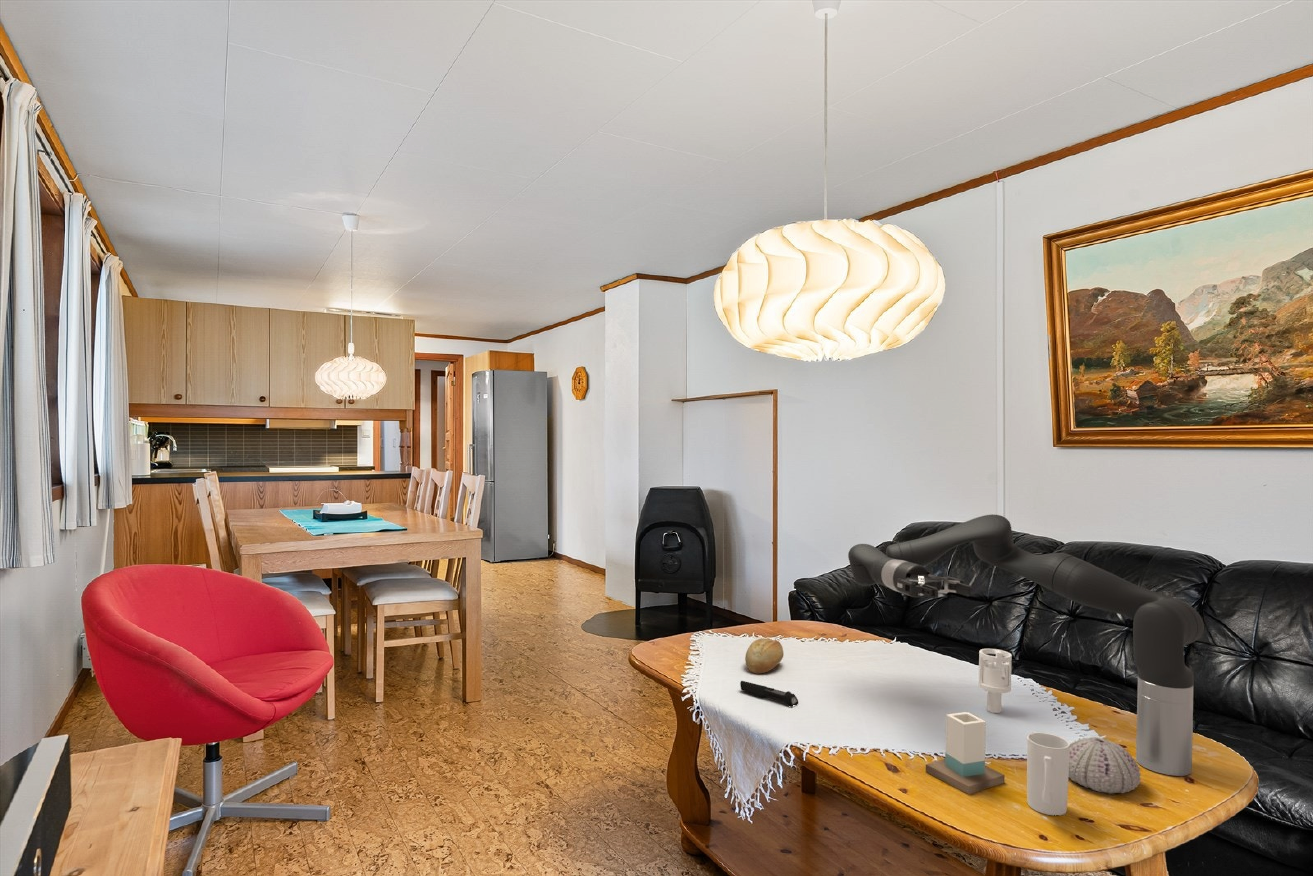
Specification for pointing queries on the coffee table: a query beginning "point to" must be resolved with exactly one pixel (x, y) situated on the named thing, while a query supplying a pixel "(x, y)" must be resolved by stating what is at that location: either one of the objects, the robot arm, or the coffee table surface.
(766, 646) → the bread roll
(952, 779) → the pin board
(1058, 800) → the mug
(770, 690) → the electric trimmer
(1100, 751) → the sea urchin shell
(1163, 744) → the robot arm
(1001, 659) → the strainer
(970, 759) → the sleeve
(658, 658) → the coffee table surface
